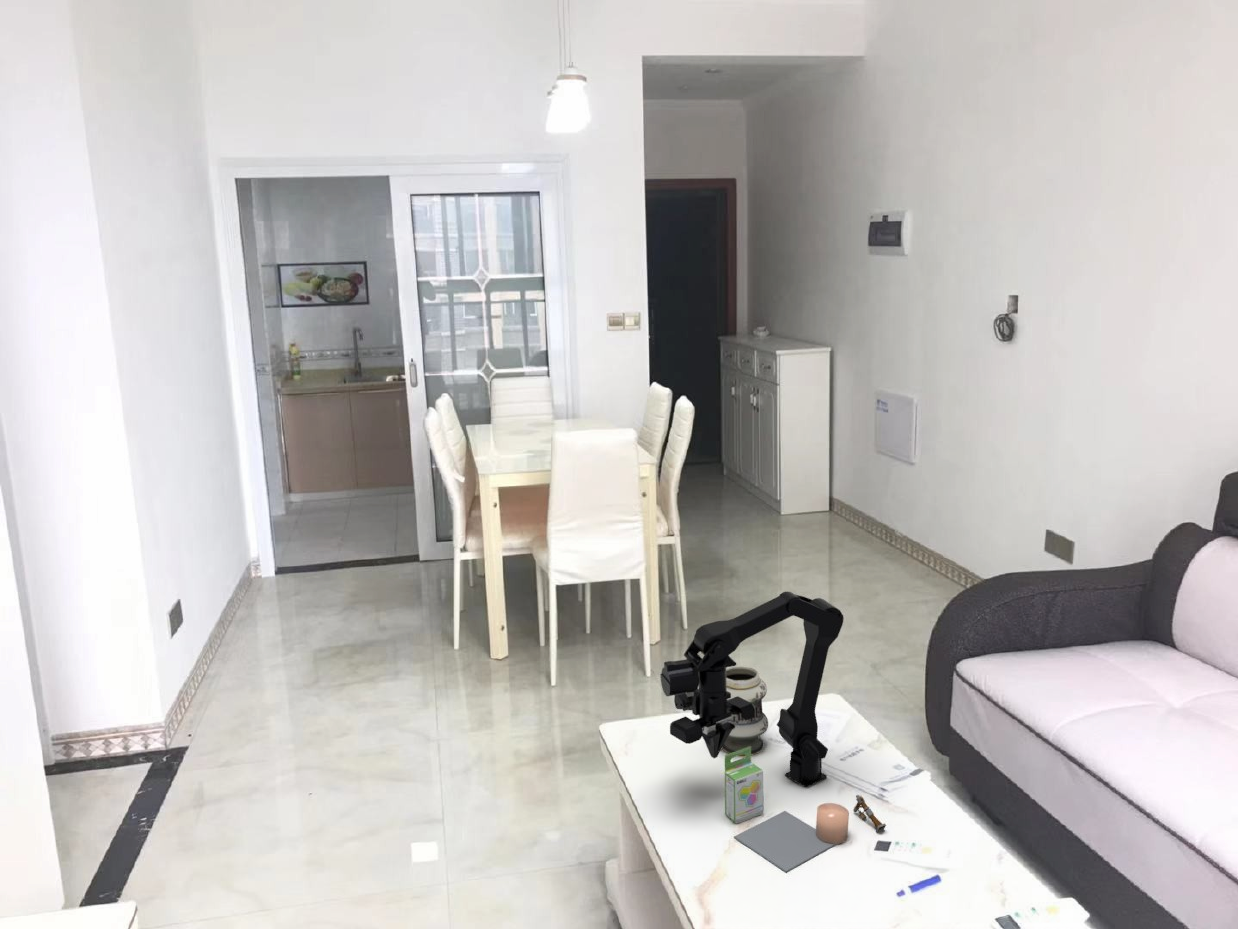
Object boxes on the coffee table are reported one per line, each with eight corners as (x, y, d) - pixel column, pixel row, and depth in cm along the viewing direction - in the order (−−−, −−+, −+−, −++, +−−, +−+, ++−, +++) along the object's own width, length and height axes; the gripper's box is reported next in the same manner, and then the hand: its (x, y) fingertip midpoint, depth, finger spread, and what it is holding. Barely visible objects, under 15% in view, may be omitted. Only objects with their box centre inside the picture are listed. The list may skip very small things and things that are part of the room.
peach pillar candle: (830, 823, 192) (831, 800, 191) (853, 837, 188) (855, 813, 187) (809, 832, 189) (810, 809, 188) (832, 847, 184) (834, 822, 183)
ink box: (736, 825, 193) (735, 763, 190) (724, 815, 196) (723, 755, 194) (764, 814, 196) (763, 753, 194) (752, 805, 200) (751, 745, 197)
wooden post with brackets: (855, 805, 197) (861, 791, 194) (879, 838, 191) (886, 824, 189) (848, 808, 196) (854, 794, 193) (872, 841, 190) (879, 827, 188)
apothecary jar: (710, 735, 229) (709, 664, 225) (760, 730, 230) (760, 659, 227) (721, 761, 217) (720, 686, 214) (774, 756, 219) (774, 681, 215)
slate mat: (785, 812, 197) (785, 810, 197) (838, 844, 186) (838, 842, 186) (733, 838, 189) (733, 836, 189) (786, 872, 178) (786, 871, 178)
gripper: (720, 662, 210) (721, 728, 213) (652, 687, 200) (654, 756, 203) (756, 679, 201) (757, 748, 204) (686, 706, 191) (688, 778, 194)
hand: (713, 757), depth 202 cm, fingers closed
